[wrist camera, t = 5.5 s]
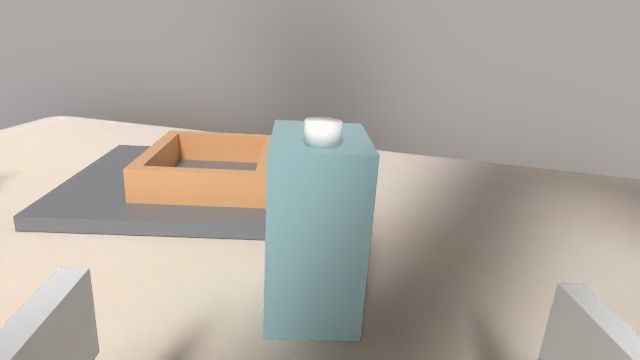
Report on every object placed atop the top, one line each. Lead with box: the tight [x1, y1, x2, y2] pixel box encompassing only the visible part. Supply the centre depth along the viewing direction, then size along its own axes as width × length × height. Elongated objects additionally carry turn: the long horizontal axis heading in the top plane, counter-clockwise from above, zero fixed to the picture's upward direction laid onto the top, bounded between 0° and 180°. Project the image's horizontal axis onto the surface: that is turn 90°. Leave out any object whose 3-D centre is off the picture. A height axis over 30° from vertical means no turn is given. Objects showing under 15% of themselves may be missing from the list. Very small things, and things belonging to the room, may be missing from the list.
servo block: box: [263, 117, 379, 342], centre depth 22 cm, size 4×6×10 cm
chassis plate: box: [13, 130, 271, 240], centre depth 38 cm, size 22×18×4 cm
